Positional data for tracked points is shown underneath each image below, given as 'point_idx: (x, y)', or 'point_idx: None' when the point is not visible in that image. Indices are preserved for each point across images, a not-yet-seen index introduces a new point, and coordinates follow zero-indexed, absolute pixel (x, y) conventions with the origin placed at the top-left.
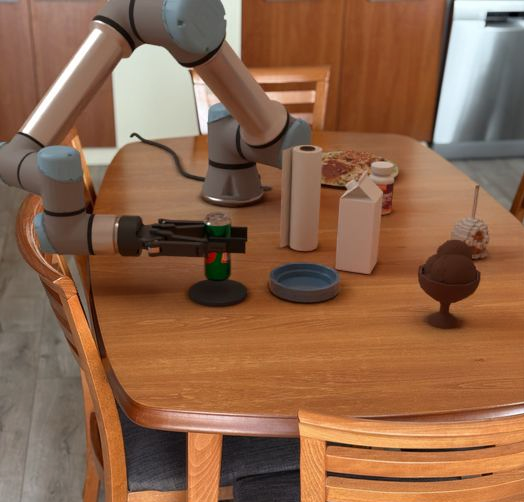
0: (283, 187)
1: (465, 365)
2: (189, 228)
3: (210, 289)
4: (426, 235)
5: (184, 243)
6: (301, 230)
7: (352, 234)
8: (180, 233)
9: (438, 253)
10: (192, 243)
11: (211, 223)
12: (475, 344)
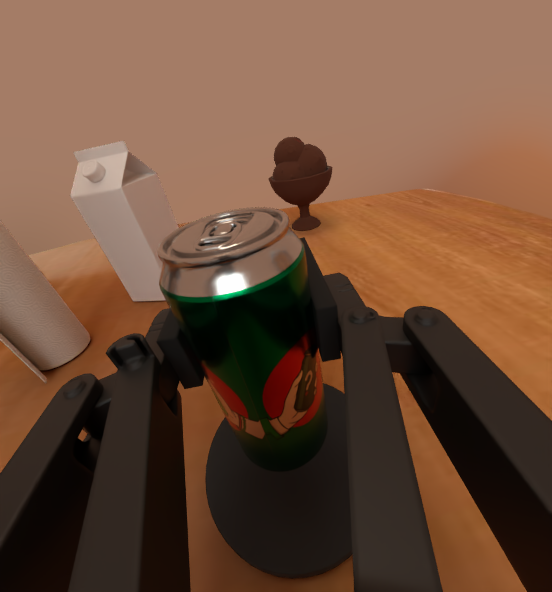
0: None
1: (383, 206)
2: (150, 470)
3: (288, 477)
4: (99, 264)
5: (506, 395)
6: (59, 319)
7: (163, 237)
8: (164, 579)
9: (296, 153)
10: (457, 350)
11: (293, 244)
12: (341, 210)
